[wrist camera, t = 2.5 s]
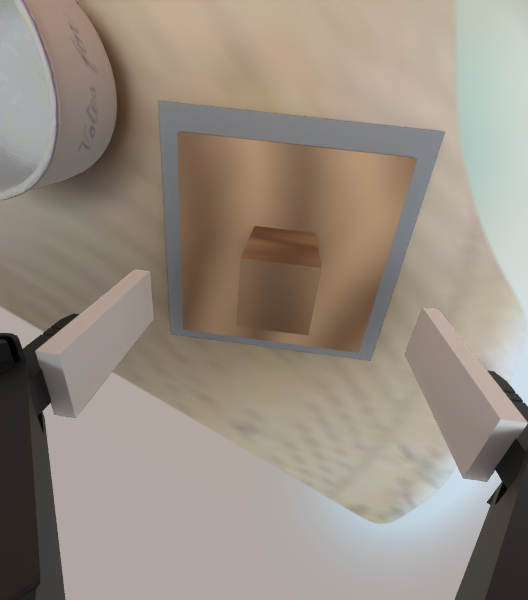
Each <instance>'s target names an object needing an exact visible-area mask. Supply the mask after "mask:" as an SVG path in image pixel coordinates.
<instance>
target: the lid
mask: <svg viewBox="0 0 528 600" xmlns="http://www.w3.org/2000/svg"><path fill="white" fill-rule="evenodd" d="M177 143H178V177H179V210H180V243H181V276H182V309H183V330H190V331H197V332H205V333H212V334H220V335H227V336H235V337H243V338H250V339H258V340H265V341H273V342H280V343H288V344H295V345H303V346H310V347H318V348H325V349H333V350H341V351H348V352H356V353H359V352H360V349H361V346H362V342H363V339H364V336H365V332H366V329H367V326H368V322H369V319H370V316H371V312H372V309H373V306H374V302H375V299H376V296H377V292H378V289H379V286H380V282H381V279H382V276H383V272H384V269H385V266H386V262H387V259H388V256H389V252H390V249H391V246H392V242H393V239H394V236H395V232H396V229H397V226H398V222H399V219H400V216H401V212H402V209H403V206H404V202H405V199H406V196H407V192H408V189H409V186H410V182H411V179H412V176H413V172H414V169H415V166H416V162H417V159H418V158H414V157H408V156H399V155H390V154H381V153H372V152H363V151H354V150H345V149H336V148H327V147H318V146H309V145H300V144H292V143H283V142H274V141H265V140H256V139H247V138H238V137H229V136H220V135H211V134H202V133H193V132H184V131H182V132H177Z"/></svg>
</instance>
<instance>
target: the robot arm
mask: <svg viewBox="0 0 528 600" xmlns="http://www.w3.org/2000/svg"><path fill="white" fill-rule="evenodd" d="M153 320H154V315H153V302H152V289H151V276H150V271H145V270H138V269H134V270H133V271H132V272H131V273H129V274H128V275H127V276H126V277H125V278H123V279H122V280H121V281H120V282H119V283H117V284H116V285H115V286H114V287H112V288H111V289H110V290H109V291H108V292H106V293H105V294H104V295H103V296H101V297H100V298H99V299H98V300H97V301H95V302H94V303H93V304H92V305H90V306H89V307H88V308H87V309H86V310H84V311H83V312H82V313H81V314H72V315H70V316H67V317H65V318H63V319H61V320H59V321H58V322H57V323H55V324H54V325H53V326H52V327H51V328H49V329H48V330H46V331H45V332H44V333H43V335H40V336H39V337H38V338H36V339H35V340H34V341H32V342H31V343H30V344H28V345H27V346H26V347H25V348H23V349H22V347H21V344H20V341H19V338H18V337H17V336H16V335H14V334H11V333H0V600H65V593H64V584H63V576H62V566H61V558H60V550H59V540H58V532H57V523H56V515H55V505H54V496H53V489H52V479H51V470H50V462H49V453H48V445H47V435H46V426H45V418H44V415H43V412H42V411H43V410H44V409H45V408H46V407H47V406H48V405H49V404H50V403H51V405H52V408H53V412H54V415H59V416H65V417H72V418H76V417H77V416H78V415H79V413H80V412H81V411H82V409H83V408H84V407H85V406H86V404H87V403H88V402H89V401H90V399H91V398H92V397H93V396H94V394H95V393H96V392H97V390H98V389H99V388H100V387H101V385H102V384H103V383H104V381H105V380H106V379H107V378H108V377H109V375H110V374H111V373H112V371H113V370H114V369H115V368H116V366H117V365H118V364H119V363H120V361H121V360H122V359H123V358H124V356H125V355H126V354H127V352H128V351H129V350H130V349H131V347H132V346H133V345H134V344H135V342H136V341H137V340H138V339H139V337H140V336H141V335H142V333H143V332H144V331H145V330H146V328H147V327H148V326H149V325H150V323H151V322H152V321H153ZM405 356H406V358H407V360H408V362H409V364H410V367H411V369H412V371H413V373H414V375H415V377H416V379H417V381H418V384H419V386H420V388H421V390H422V392H423V394H424V396H425V398H426V401H427V403H428V405H429V407H430V409H431V411H432V413H433V415H434V418H435V420H436V422H437V424H438V426H439V428H440V430H441V432H442V435H443V437H444V439H445V441H446V443H447V445H448V447H449V449H450V452H451V454H452V456H453V458H454V460H455V462H456V464H457V466H458V469H459V471H460V473H461V475H462V477H463V478H465V479H472V480H478V481H484V482H487V481H488V480H489V478H490V477H491V475H492V474H493V473H494V471H495V470H496V471H497V473H498V475H499V477H500V478H501V480H502V482H501V484H500V485H499V487H498V488H497V489H496V491H495V492H494V494H493V495H492V496H491V498H490V499H489V500H488V501H487V503H489V504H490V505H491V506H490V508H489V511H488V514H487V516H486V519H485V522H484V524H483V527H482V529H481V532H480V535H479V537H478V540H477V543H476V545H475V548H474V551H473V553H472V556H471V558H470V561H469V563H468V566H467V569H466V572H465V574H464V577H463V579H462V582H461V584H460V587H459V590H458V592H457V595H456V598H455V600H528V407H527V405H526V404H525V403H523V400H522V399H521V398H520V397H519V396H518V394H515V391H514V390H513V388H512V387H511V386H510V385H509V384H508V382H507V381H506V380H504V379H503V378H502V377H500V376H499V375H498V374H496V373H495V372H494V371H487V370H486V369H485V367H484V366H483V365H482V363H481V362H480V361H479V360H478V358H477V357H476V356H475V355H474V353H473V352H472V351H471V349H470V348H469V347H468V346H467V344H466V343H465V342H464V341H463V339H462V338H461V337H460V335H459V334H458V333H457V332H456V330H455V329H454V328H453V327H452V325H451V324H450V323H449V321H448V320H447V319H446V318H445V316H444V315H443V314H442V312H441V311H440V310H439V309H432V308H425V307H422V310H421V312H420V315H419V318H418V320H417V323H416V326H415V328H414V331H413V333H412V336H411V339H410V341H409V344H408V346H407V349H406V352H405Z"/></svg>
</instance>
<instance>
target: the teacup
mask: <svg viewBox="0 0 528 600" xmlns="http://www.w3.org/2000/svg"><path fill="white" fill-rule="evenodd" d="M116 115H117V95H116V87H115V81H114V76H113V72H112V68H111V65H110V62H109V59H108V56H107V54H106V51H105V49H104V46H103V44H102V42H101V40H100V38H99V36H98V34H97V32H96V30H95V28H94V26H93V25H92V23H91V22H90V20H89V18H88V17H87V15H86V14H85V13H84V11H83V10H82V9H81V7H80V6H79V5H78V3H77V2H76V1H75V0H0V200H6V199H9V198H13V197H16V196H19V195H21V194H23V193H25V192H27V191H29V190H32V189H36V188H40V187H43V186H47V185H50V184H54V183H57V182H60V181H63V180H66V179H68V178H71V177H73V176H76V175H78V174H79V173H81V172H83V171H85V170H86V169H88V168H89V167H91V166H92V165H93V164H94V163H95V162H96V161H97V160H98V159H99V158H100V157H101V155H102V154H103V153H104V151H105V150H106V148H107V146H108V144H109V143H110V140H111V137H112V134H113V131H114V128H115V122H116Z"/></svg>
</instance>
